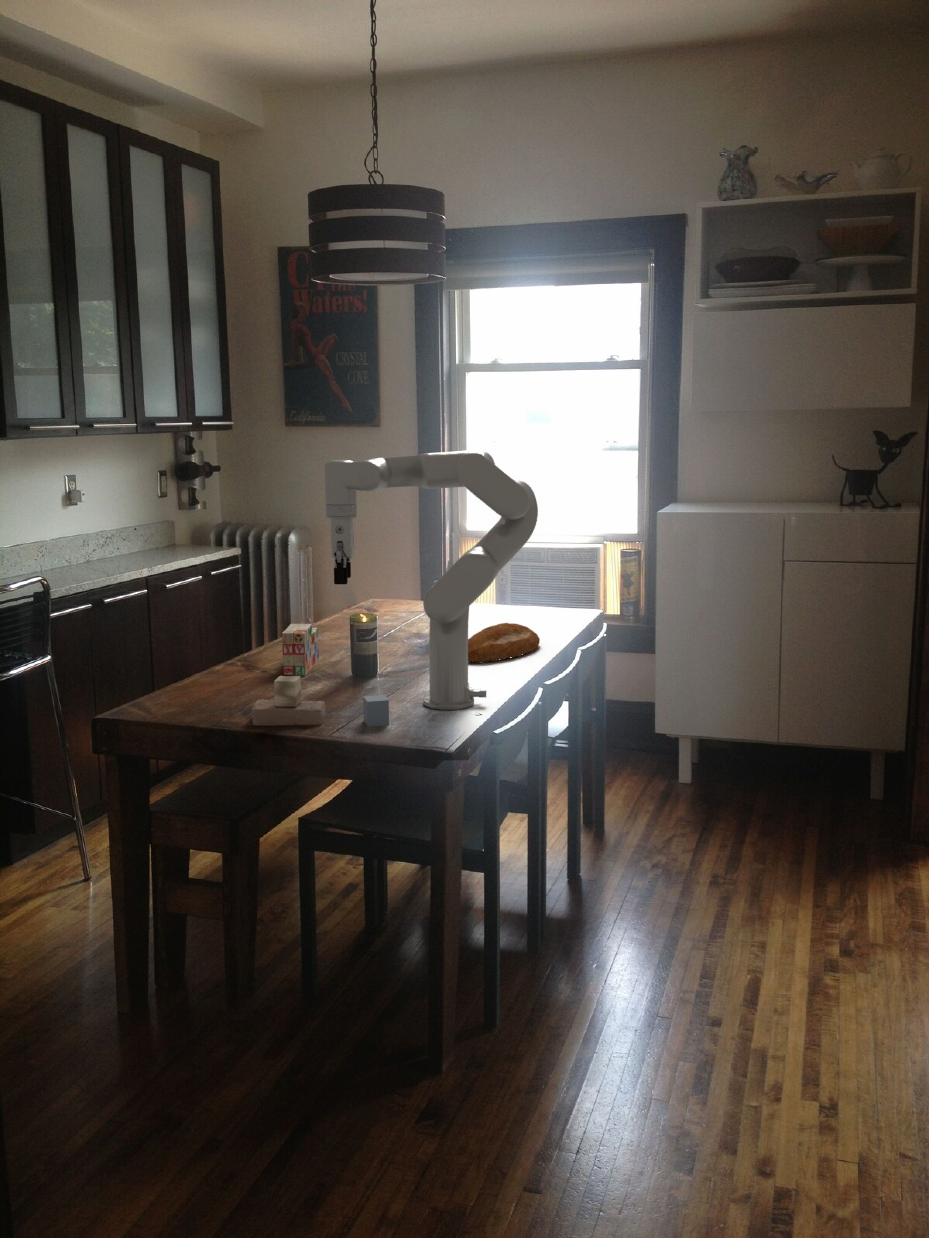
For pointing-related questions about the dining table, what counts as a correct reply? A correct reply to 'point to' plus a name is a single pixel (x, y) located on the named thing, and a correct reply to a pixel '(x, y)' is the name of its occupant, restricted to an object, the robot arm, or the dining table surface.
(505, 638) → the bread
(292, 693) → the beech block
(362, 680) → the dining table surface
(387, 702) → the slate block
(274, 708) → the brick
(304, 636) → the stack of blocks
